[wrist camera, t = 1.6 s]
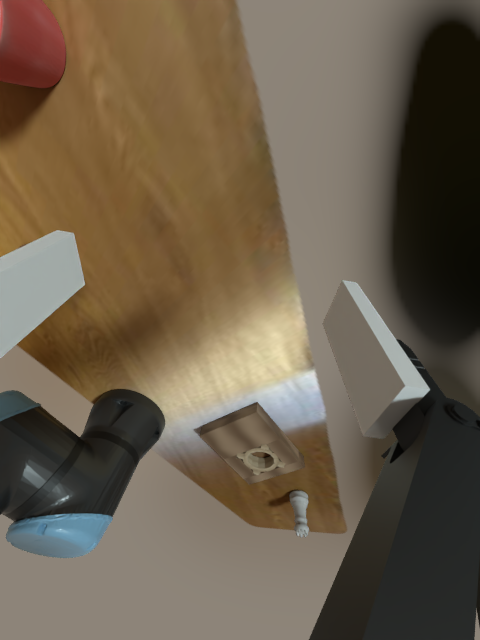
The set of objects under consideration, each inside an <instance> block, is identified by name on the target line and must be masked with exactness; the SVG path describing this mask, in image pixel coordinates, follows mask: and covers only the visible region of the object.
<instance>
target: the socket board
mask: <svg viewBox="0 0 480 640" xmlns="http://www.w3.org/2000/svg"><path fill="white" fill-rule="evenodd" d="M200 437H201V438H202V439H203V440H204V441H205V442H206V443H207V444H208V445H209V446H210V447H211V448H212V449H213V450H214V451H215V452H216V453H217V454H218V455H219V456H220V457H221V458H222V459H224V460H225V461H226V462H227V463H228V464H229V465H230V466H231V467H232V468H233V469H234V470H235V471H236V472H237V473H238V474H239V475H240V476H241V477H242V478H243V479H244V480H245V481H246V482H247V483H248V484H253V483H256V482H259V481H262V480H266V479H269V478H272V477H275V476H279V475H282V474H285V473H289V472H292V471H295V470H298V469H302V468H305V464H304V456H303V455H302V454H301V453H300V452H299V450H298V449H297V448H296V447H295V446H294V445H293V443H292V442H291V441H290V440H289V439H288V438H287V436H286V435H285V434H284V433H283V432H282V430H281V429H280V428H279V427H278V426H277V425H276V423H275V422H274V421H273V420H272V419H271V418H270V416H269V415H268V414H267V413H266V412H265V411H264V409H263V408H262V407H261V406H260V405H259V403H258V402H256V403H254V404H252V405H249V406H247V407H245V408H242V409H240V410H238V411H236V412H233V413H231V414H229V415H226V416H224V417H222V418H219V419H217V420H215V421H213V422H210V423H208V424H206V425H203V426H202V429H201V432H200ZM254 452H265V453H267V454H270V455H271V456H269V457H266V458H258V457H256V456H253V455H252V454H251V453H254Z"/></svg>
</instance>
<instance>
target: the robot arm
mask: <svg viewBox="0 0 480 640" xmlns="http://www.w3.org/2000/svg"><path fill="white" fill-rule="evenodd" d="M84 285H85V281H84V277H83V272H82V268H81V263H80V259H79V255H78V250H77V246H76V241H75V237H74V233H70V232H64V231H59V230H56V231H54V232H52V233H50V234H48V235H46V236H44V237H42V238H40V239H38V240H35V241H33V242H31V243H29V244H27V245H25V246H23V247H21V248H19V249H17V250H14V251H12V252H10V253H8V254H6V255H4V256H2V257H0V358H1V357H2V356H4V355H5V354H6V353H7V352H8V351H9V350H11V349H12V348H13V347H14V346H15V345H16V344H17V343H19V342H20V341H21V340H22V339H23V338H24V337H25V336H27V335H28V334H29V333H30V332H31V331H32V330H33V329H35V328H36V327H37V326H38V325H39V324H40V323H41V322H43V321H44V320H45V319H46V318H47V317H48V316H49V315H51V314H52V313H53V312H54V311H55V310H56V309H58V308H59V307H60V306H61V305H62V304H63V303H64V302H66V301H67V300H68V299H69V298H70V297H71V296H72V295H74V294H75V293H76V292H77V291H78V290H79V289H80V288H82V287H83V286H84ZM323 326H324V329H325V331H326V334H327V337H328V340H329V343H330V345H331V348H332V351H333V354H334V357H335V359H336V362H337V365H338V368H339V371H340V373H341V376H342V379H343V382H344V385H345V387H346V390H347V393H348V396H349V399H350V401H351V404H352V407H353V410H354V412H355V415H356V418H357V421H358V424H359V427H360V429H361V432H362V435H363V436H366V437H373V438H380V439H384V438H385V437H386V436H387V435H388V434H389V433H390V432H391V431H392V430H393V431H394V433H395V435H396V437H397V439H398V440H397V441H396V442H395V443H394V444H393V445H392V446H391V447H390V448H389V449H388V450H387V451H386V452H385V453H384V454H383V455H382V457H383V458H385V457H386V456H387V455H388V456H387V459H386V461H385V463H384V466H383V468H382V470H381V473H380V475H379V477H378V480H377V482H376V484H375V487H374V489H373V491H372V494H371V496H370V498H369V501H368V503H367V505H366V508H365V510H364V513H363V515H362V517H361V519H360V522H359V524H358V526H357V529H356V531H355V533H354V536H353V538H352V541H351V543H350V545H349V548H348V550H347V552H346V554H345V557H344V559H343V561H342V564H341V566H340V568H339V571H338V573H337V576H336V578H335V580H334V582H333V585H332V587H331V590H330V592H329V594H328V596H327V599H326V601H325V604H324V606H323V608H322V610H321V613H320V615H319V618H318V620H317V623H316V625H315V627H314V629H313V632H312V634H311V636H310V639H309V640H474V636H475V620H476V607H477V613H478V619H479V625H480V417H479V416H478V415H477V414H476V413H475V412H474V411H473V410H471V409H470V408H468V407H467V406H466V405H464V404H462V403H460V402H458V401H456V400H454V399H450V398H446V397H445V395H444V394H443V392H442V391H441V390H440V388H439V387H438V386H437V384H436V383H435V381H434V380H433V379H432V377H431V376H430V375H429V373H428V372H427V370H426V369H424V366H423V365H422V364H421V362H420V361H418V358H417V357H416V355H415V354H414V353H413V351H412V350H411V349H410V348H409V347H408V346H407V345H405V344H404V343H403V342H402V341H401V340H397V339H395V337H394V336H393V335H392V333H391V332H390V330H389V329H388V327H387V326H386V324H385V323H384V321H383V320H382V319H381V317H380V316H379V314H378V313H377V311H376V310H375V308H374V307H373V305H372V304H371V303H370V301H369V300H368V298H367V297H366V295H365V294H364V292H363V291H362V290H361V288H360V287H359V285H358V284H357V283H356V282H350V281H344V280H342V282H341V284H340V286H339V288H338V290H337V293H336V295H335V297H334V299H333V302H332V304H331V306H330V308H329V311H328V313H327V315H326V317H325V319H324V322H323ZM164 427H165V418H164V415H163V413H162V411H161V410H160V408H159V407H158V406H157V405H156V404H155V403H154V402H153V401H151V400H150V399H149V398H147V397H145V396H144V395H142V394H139V393H137V392H134V391H130V390H122V389H118V390H111V391H108V392H106V393H104V394H103V395H102V396H101V397H100V398H99V399H98V400H97V402H96V403H95V404H94V406H93V407H92V409H91V412H90V415H89V418H88V421H87V424H86V426H85V429H84V432H83V434H82V435H81V437H78V436H77V435H76V434H75V433H73V432H72V431H71V430H69V429H68V428H67V427H66V426H65V425H63V424H62V423H61V422H59V421H58V420H57V419H56V418H54V417H53V416H52V415H50V414H49V413H48V412H47V411H46V410H45V409H43V408H42V407H41V405H40V404H39V403H36V402H34V401H33V400H31V399H30V398H28V397H27V396H25V395H24V394H23V393H21V392H19V391H14V390H12V391H5V392H2V393H0V514H3V515H5V516H7V517H8V518H10V519H12V520H13V521H14V523H12V524H11V525H10V527H9V528H8V532H7V534H6V539H7V541H8V542H11V544H12V545H13V546H15V547H17V548H19V549H22V550H24V551H27V552H30V553H34V554H38V555H43V556H49V557H58V558H73V557H79V556H83V555H85V554H87V553H89V552H91V551H92V550H93V549H94V548H95V547H96V546H97V545H98V543H99V541H100V539H101V538H102V536H103V534H104V532H105V531H106V529H107V527H108V525H109V524H110V523H111V521H112V519H113V518H112V517H113V515H114V513H115V510H116V509H117V507H118V504H119V502H120V500H121V498H122V496H123V494H124V492H125V490H126V488H127V486H128V484H129V481H130V479H131V477H132V475H133V473H134V471H135V469H136V467H137V465H138V463H139V461H140V459H141V458H142V457H143V456H144V455H145V454H146V453H147V452H148V451H149V450H150V449H151V448H152V446H153V445H154V444H155V443H156V442H157V441H158V440H159V438H160V436H161V434H162V432H163V430H164Z"/></svg>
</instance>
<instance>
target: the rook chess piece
mask: <svg viewBox="0 0 480 640" xmlns="http://www.w3.org/2000/svg"><path fill="white" fill-rule="evenodd" d="M289 497H290V503H291V505H292V507H293V509H294V513H295V520H294V521H295V523H296V525H295V527H294V530H295V531H296V534H297V536H299V534H300V537H302V535H304V537H306V535H308V532H309V528H308V526H307V520H306V508H307V505H308V495H307V494H306V493H305V492H304V491H301V490H294V491H292V492H291V493H290V495H289Z"/></svg>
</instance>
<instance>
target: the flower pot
mask: <svg viewBox="0 0 480 640" xmlns="http://www.w3.org/2000/svg"><path fill="white" fill-rule="evenodd" d="M65 62H66V48H65V42H64V38H63V34H62V32H61V29H60V27H59V24H58V22H57V20H56V19H55V17H54V15H53V14H52V12H51V11H50V10H49V8H48V7H47V6H46V5H45V3H44V2H43V1H42V0H0V81H2V82H7V83H12V84H18V85H23V86H30V87H36V88H49V87H51V86H53V85H55V84H56V83H57V82H58V81H59V80H60V78H61V77H62V75H63V72H64V69H65Z"/></svg>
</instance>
